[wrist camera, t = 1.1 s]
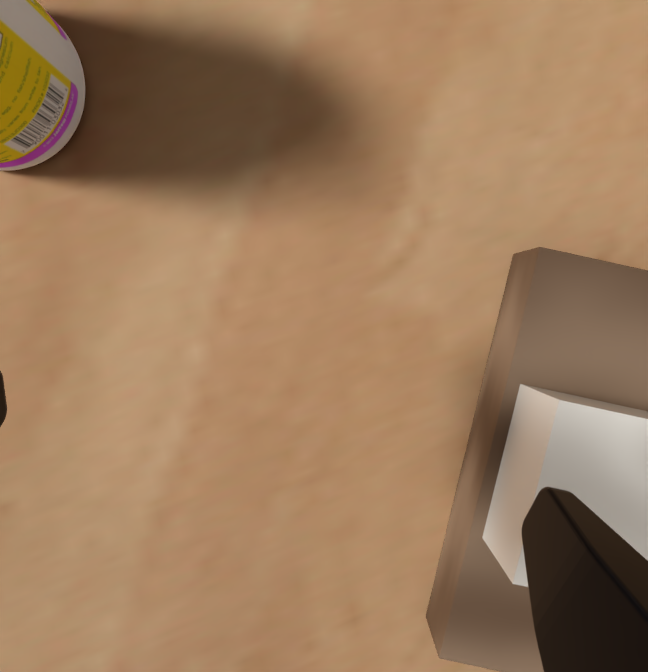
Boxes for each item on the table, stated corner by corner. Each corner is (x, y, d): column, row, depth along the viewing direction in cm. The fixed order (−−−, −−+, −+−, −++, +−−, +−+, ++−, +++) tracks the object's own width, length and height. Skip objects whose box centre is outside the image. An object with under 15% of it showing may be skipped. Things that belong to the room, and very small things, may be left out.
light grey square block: (637, 571, 18) (697, 623, 15) (482, 537, 18) (512, 584, 15) (678, 418, 18) (749, 441, 15) (520, 383, 18) (559, 399, 15)
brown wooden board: (715, 678, 21) (767, 728, 19) (425, 616, 21) (439, 658, 19) (818, 320, 20) (888, 323, 18) (513, 254, 20) (540, 247, 17)
